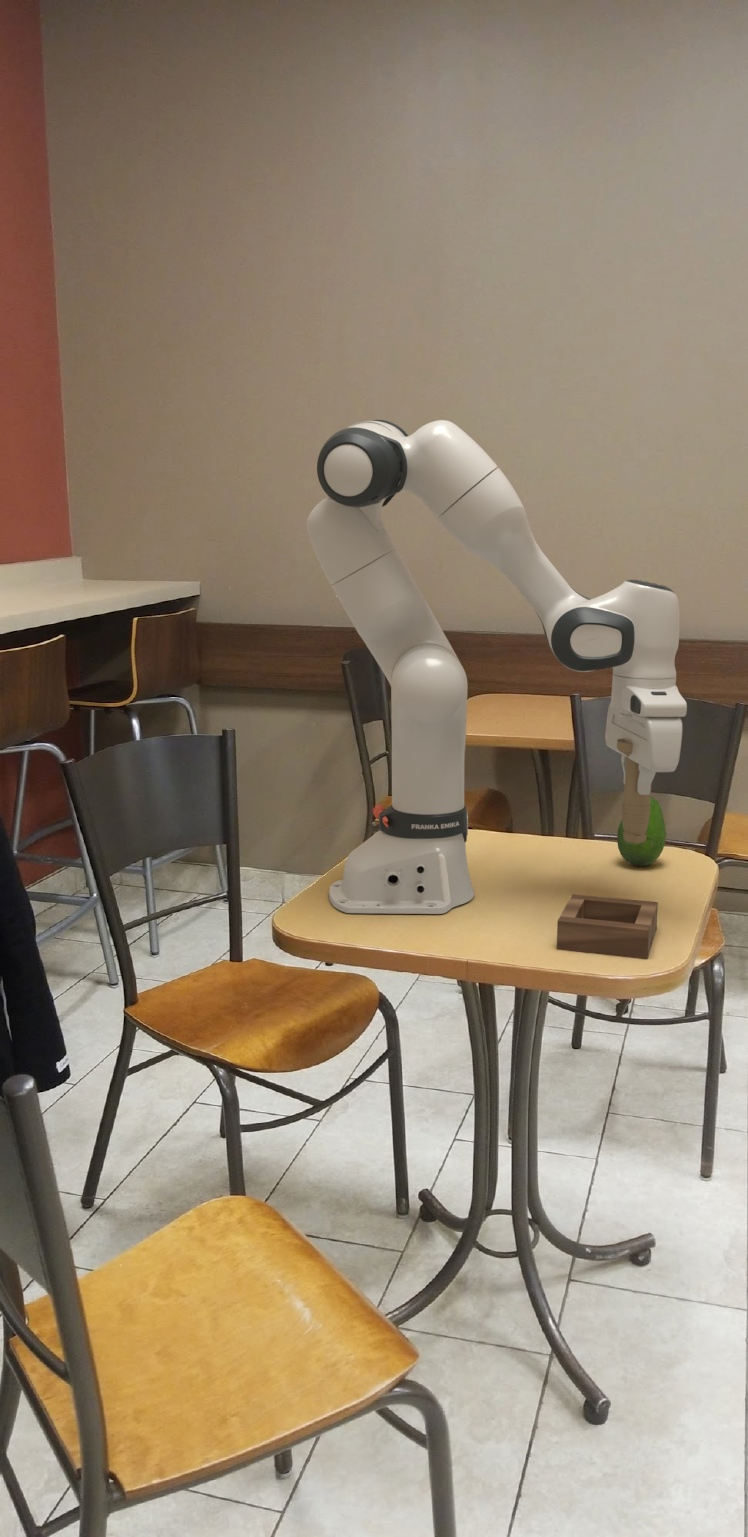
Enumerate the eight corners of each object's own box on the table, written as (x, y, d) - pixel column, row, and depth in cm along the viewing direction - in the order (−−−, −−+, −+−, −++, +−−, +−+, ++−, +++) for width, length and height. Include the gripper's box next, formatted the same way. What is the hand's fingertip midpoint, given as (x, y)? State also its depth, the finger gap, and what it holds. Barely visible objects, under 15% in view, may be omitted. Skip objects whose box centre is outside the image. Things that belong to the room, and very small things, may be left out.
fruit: (611, 858, 197) (613, 790, 195) (657, 857, 198) (659, 789, 195) (622, 872, 190) (624, 801, 187) (669, 871, 190) (673, 800, 187)
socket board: (647, 958, 152) (648, 930, 151) (556, 948, 156) (557, 920, 155) (656, 929, 163) (657, 902, 162) (571, 920, 167) (572, 894, 166)
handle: (661, 845, 167) (666, 743, 164) (617, 846, 166) (622, 744, 163) (651, 836, 172) (656, 737, 168) (608, 837, 171) (613, 737, 168)
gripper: (597, 685, 174) (592, 774, 177) (647, 706, 154) (640, 806, 157) (637, 685, 175) (631, 774, 178) (692, 706, 155) (685, 806, 158)
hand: (636, 789), depth 167 cm, fingers closed on handle, 3 cm apart
